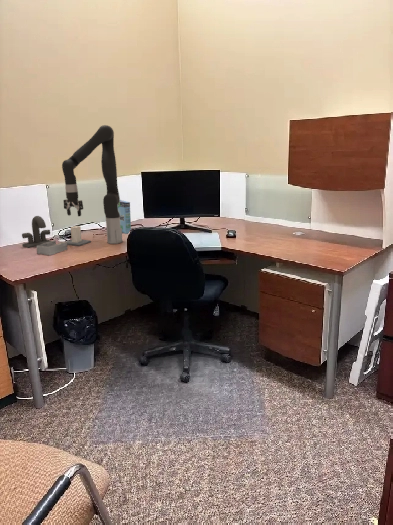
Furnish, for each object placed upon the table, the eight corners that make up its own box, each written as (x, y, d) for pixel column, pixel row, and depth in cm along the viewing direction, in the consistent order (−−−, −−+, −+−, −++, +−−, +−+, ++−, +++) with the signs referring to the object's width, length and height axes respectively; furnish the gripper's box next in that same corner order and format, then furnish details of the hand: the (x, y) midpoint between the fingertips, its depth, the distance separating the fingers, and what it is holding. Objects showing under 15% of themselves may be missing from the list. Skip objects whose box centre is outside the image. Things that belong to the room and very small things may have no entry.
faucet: (33, 250, 264) (29, 219, 258) (21, 246, 274) (17, 216, 268) (59, 244, 276) (55, 215, 270) (47, 241, 287) (43, 212, 281)
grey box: (67, 249, 265) (66, 241, 264) (49, 255, 252) (48, 247, 251) (55, 247, 270) (54, 240, 268) (37, 253, 257) (36, 245, 255)
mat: (91, 242, 283) (90, 240, 282) (79, 246, 272) (79, 244, 272) (75, 240, 289) (74, 238, 288) (62, 244, 278) (62, 242, 278)
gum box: (113, 229, 319) (110, 199, 312) (118, 228, 322) (116, 198, 316) (125, 233, 305) (123, 202, 298) (131, 232, 308) (130, 202, 301)
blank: (76, 242, 277) (75, 228, 274) (72, 242, 279) (70, 227, 276) (81, 241, 282) (80, 226, 279) (77, 240, 283) (75, 226, 280)
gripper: (59, 191, 270) (62, 216, 275) (76, 192, 264) (79, 217, 269) (67, 189, 276) (70, 214, 281) (84, 190, 270) (86, 215, 275)
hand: (74, 215), depth 275 cm, fingers open, 8 cm apart
